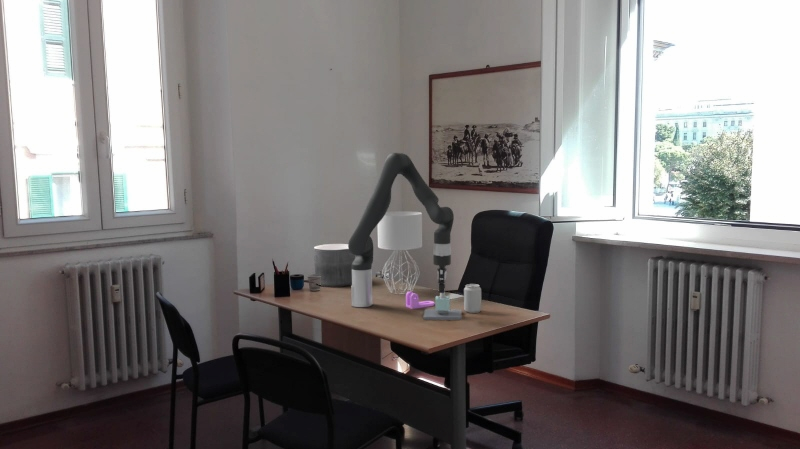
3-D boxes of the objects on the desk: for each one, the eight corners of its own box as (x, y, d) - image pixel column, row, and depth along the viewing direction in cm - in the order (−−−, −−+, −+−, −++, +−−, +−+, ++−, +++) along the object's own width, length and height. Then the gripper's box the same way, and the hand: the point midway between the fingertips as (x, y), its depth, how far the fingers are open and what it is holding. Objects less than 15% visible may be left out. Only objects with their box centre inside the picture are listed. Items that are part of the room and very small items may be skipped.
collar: (435, 310, 281) (435, 299, 280) (435, 307, 287) (435, 296, 286) (449, 310, 280) (449, 299, 280) (449, 307, 286) (449, 296, 286)
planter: (354, 286, 348) (353, 249, 345) (312, 287, 347) (311, 250, 345) (356, 278, 370) (355, 243, 367) (317, 279, 369) (316, 244, 367)
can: (470, 314, 286) (470, 287, 284) (460, 310, 292) (460, 284, 291) (484, 312, 289) (484, 285, 288) (475, 308, 296) (474, 282, 294)
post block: (423, 319, 278) (422, 295, 277) (425, 311, 292) (424, 288, 291) (461, 320, 276) (460, 295, 275) (461, 311, 290) (461, 288, 289)
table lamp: (369, 292, 333) (368, 214, 328) (398, 285, 349) (397, 210, 345) (403, 298, 318) (401, 216, 314) (431, 290, 335) (430, 212, 330)
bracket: (411, 309, 297) (411, 294, 296) (405, 306, 302) (405, 291, 301) (436, 305, 303) (436, 290, 302) (430, 303, 308) (430, 288, 307)
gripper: (434, 250, 288) (434, 287, 290) (432, 256, 274) (432, 294, 276) (451, 251, 287) (451, 287, 289) (450, 256, 273) (450, 294, 275)
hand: (441, 290), depth 283 cm, fingers open, 8 cm apart
